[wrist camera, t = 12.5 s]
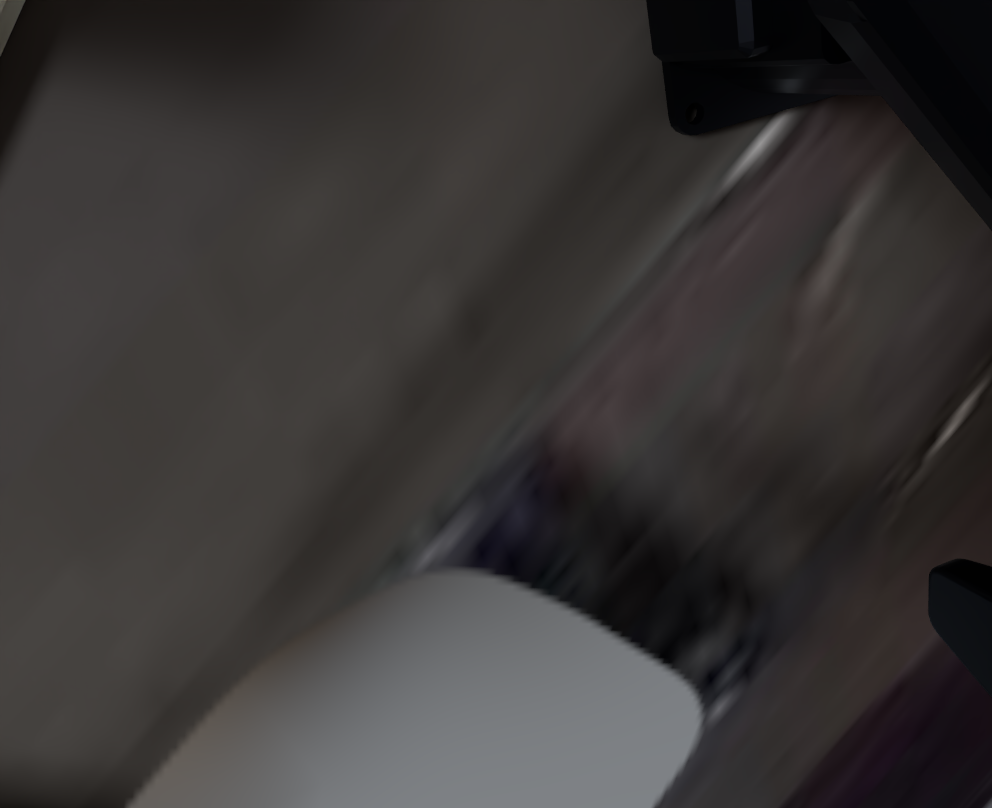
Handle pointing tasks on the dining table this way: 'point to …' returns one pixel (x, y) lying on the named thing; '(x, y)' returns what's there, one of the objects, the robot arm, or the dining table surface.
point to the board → (8, 19)
